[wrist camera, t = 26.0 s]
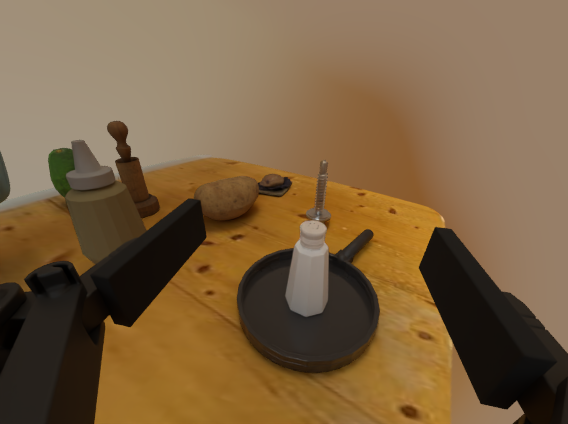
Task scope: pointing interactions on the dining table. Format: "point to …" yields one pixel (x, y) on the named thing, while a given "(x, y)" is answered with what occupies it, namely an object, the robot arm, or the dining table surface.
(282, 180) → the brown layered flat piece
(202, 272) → the dining table surface
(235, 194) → the potato
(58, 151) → the avocado
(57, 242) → the dining table surface
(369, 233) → the pan handle
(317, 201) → the screw
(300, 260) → the salt shaker
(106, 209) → the squeeze bottle
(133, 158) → the mortar and pestle
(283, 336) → the pan
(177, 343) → the dining table surface
